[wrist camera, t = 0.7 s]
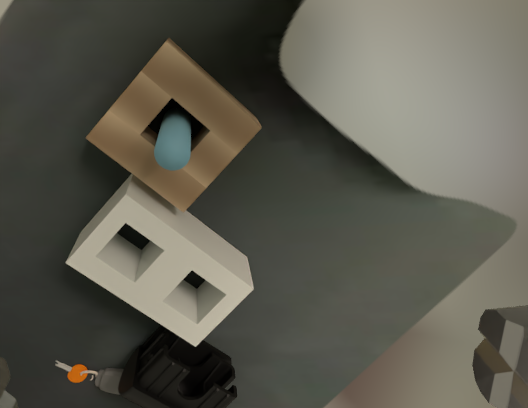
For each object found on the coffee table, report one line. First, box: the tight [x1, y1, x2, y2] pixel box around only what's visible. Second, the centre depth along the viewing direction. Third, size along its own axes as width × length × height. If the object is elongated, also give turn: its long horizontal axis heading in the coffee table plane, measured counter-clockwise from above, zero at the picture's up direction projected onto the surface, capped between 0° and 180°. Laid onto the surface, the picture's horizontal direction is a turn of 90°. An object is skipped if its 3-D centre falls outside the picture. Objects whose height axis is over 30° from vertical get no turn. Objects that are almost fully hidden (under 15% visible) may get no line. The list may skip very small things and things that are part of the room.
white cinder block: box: [66, 174, 254, 347], centre depth 45 cm, size 8×14×6 cm, turn 47°
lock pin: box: [154, 108, 191, 171], centre depth 39 cm, size 2×2×10 cm
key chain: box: [56, 360, 124, 395], centre depth 52 cm, size 13×4×2 cm, turn 72°
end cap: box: [118, 325, 237, 408], centre depth 50 cm, size 10×7×7 cm
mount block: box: [86, 38, 262, 213], centre depth 41 cm, size 10×10×4 cm
